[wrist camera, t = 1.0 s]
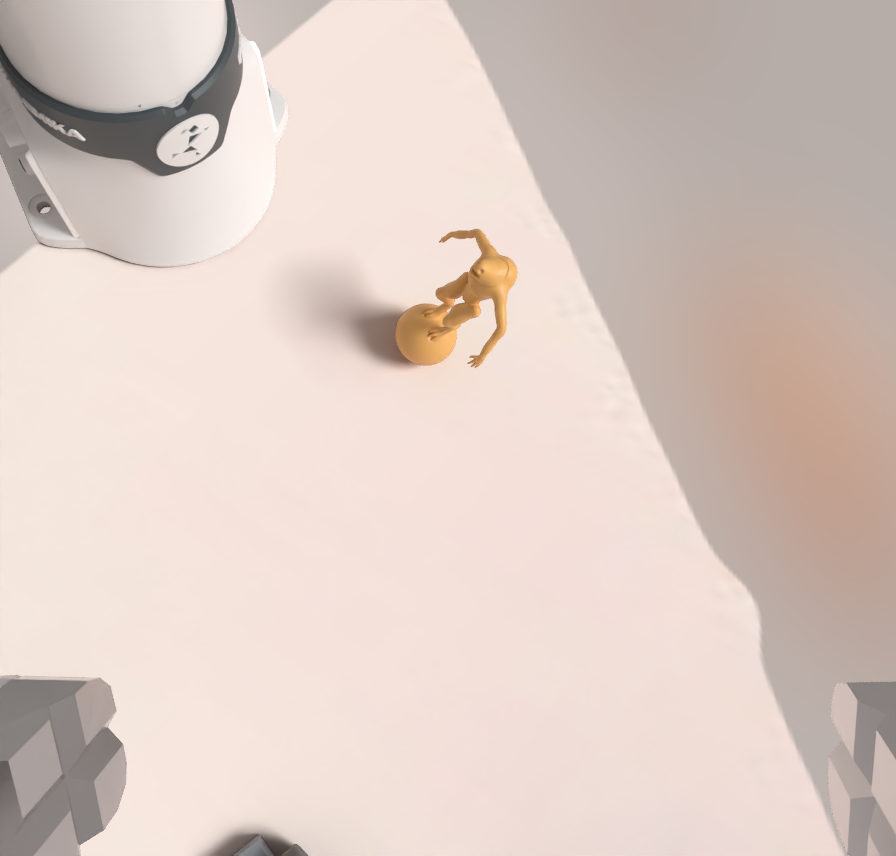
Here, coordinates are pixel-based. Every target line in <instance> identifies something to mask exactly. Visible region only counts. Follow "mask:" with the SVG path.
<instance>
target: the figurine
mask: <svg viewBox="0 0 896 856" xmlns="http://www.w3.org/2000/svg"><path fill="white" fill-rule="evenodd" d="M451 237H454V238H458V239H465V238H474V237H475V238H476V241H477V243H478V246H479V248H480V250H481V252H482V255H481V257H480V258H479V259H478V260H477V261H476V262H475V263H474V264H473V266H472V267H471V269H470V271H469V273H468V272H465V273H463V274H462V275H461V276H460V277H459V278H458V279H457V280H455V281H453V282H450V283H448V284H446V285H445V286H443V287H441V288H438V289H437V290H436V297H437V298H438V299H439V300H441V301H442V302H444V304H442V305H440V306H437V305H433V304H419V305H415V306H413V307H411V308H409V309H408V310H407V311H405V312H404V313H403V315H402V316H401V317H400V319H399V321H398V323H397V326H396V331H395V337H396V343H397V346H398V348H399V350H400V352H401V353H402V354H403V355H404V356H405V357H406V358H407V359H408V360H410V361H411V362H413V363H415V364H419V365H434V364H437V363H439V362H441V361H443V360H444V359H446V358H447V357H448V356H449V355H450V353H451V352H452V350H453V349H454V346H455V344H456V339H457V330H456V329H458V328H459V327H460V326H461V324H462V323H464V322H466V321H467V320H469V319H472V318H476V317H478V316H479V315H480V313H481V309H480V306H479V302H480V301H482V300H486V299H490V298H492V299H493V301H494V306H495V317H496V323H497V328H496V330H495V331H494V333H493V334H492V336H491V338H490V339H489V340H488V341H487V343H486V344H485V346H484V347H483V349H482V351H481V353H480V355H479V356H475V355H473V356H470V358H474V360H472V361H470V362H468V363H467V364H470V363H474V364H473V365H471V367H473V366H475V365H477V366H475V368H476V367H478V366H479V365H480V364H481V363H482V362H483V361H484V359H485V357H486V355H487V354H488V353H489V352H490V351H491V350H492V348H493V347H494V346H495V344H496V343H497V342H498V340H499V339H500V338H501V337H502V336H503V335H504V333H505V331H506V301H507V293H508V291H509V290H510V288H511V287H512V286H513V285H514V283H515V281H516V278H517V267H516V265H515V263H514V262H513V261H512V260H511V259H510V258H508V257H505V256H501V255H499V254H498V253H497V251H496V250H495V248H494V247H493V246H491V245H490V243H489V241H488V239H487V238H486V236H485V235H484V233H483V232H482V231H481V230H479V229H474V230H470V231H455V232H450V233H448V234H447V235H446V236H444V237H443V238H442V239H441V240H440V241H439V243H440V242H442V243H443V242H445V241H446V240H448V239H449V238H451ZM462 295H463V300H464V301H465V303H460V304H456V305H455V306H453V305H454V302H455V299H457V298H459V297H461V296H462ZM452 306H453V307H452ZM451 307H452V309H451V310H450V312H449V313H448V312H447V310H448V309H450V308H451Z"/></svg>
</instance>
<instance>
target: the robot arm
mask: <svg viewBox="0 0 896 856" xmlns="http://www.w3.org/2000/svg"><path fill="white" fill-rule="evenodd" d="M288 119H289V111H288V106H287V103H286V100H285V99H284V97H283V96H282V95H281V94H280V93H279V92H278V91H277V90H275V89H274V88H273V87H272V86H271V85H270V84H269V83H268V82H267V81H266V78H265V73H264V69H263V64H262V60H261V55H260V52H259V49H258V47H257V45H256V44H255V42H253V41H248V40H247V39H246V38H245V37H244V35H242V33H241V32H240V26H239V23H238V18H237V16H236V12H235V9H234V7H233V3H232V0H0V154H1V157H2V159H3V162H4V164H5V167H6V169H7V171H8V174H9V176H10V179H11V181H12V184H13V186H14V188H15V191H16V193H17V196H18V198H19V200H20V203H21V206H22V208H23V210H24V213H25V215H26V218H27V220H28V222H29V225H30V227H31V229H32V231H33V234H34V235H35V237H36V238H37V240H38V241H40V242H41V243H43V244H45V245H47V246H52V247H60V248H90V249H94V250H98V251H101V252H103V253H106V254H108V255H111V256H114V257H116V258H119V259H121V260H125V261H128V262H132V263H135V264H141V265H147V266H158V267H171V266H182V265H188V264H193V263H197V262H200V261H204V260H207V259H209V258H212V257H214V256H217V255H219V254H221V253H223V252H225V251H227V250H228V249H230V248H231V247H233V246H234V245H236V244H237V243H239V242H240V241H241V240H242V239H243V238H245V237H246V236H247V235H248V234H249V233H250V232H251V231H252V230H253V229H254V227H255V226H256V225H257V224H258V222H259V221H260V220H261V218H262V216H263V215H264V213H265V211H266V209H267V207H268V205H269V203H270V200H271V197H272V194H273V190H274V186H275V179H276V148H277V144H278V142H279V140H280V138H281V136H282V134H283V132H284V130H285V128H286V125H287V123H288ZM44 207H51V209H50V211H49V212H48V213H45V214H42V213H40V211H41V209H43V208H44ZM115 713H116V707H115V703H114V699H113V695H112V691H111V686H110V685H108V684H107V683H106V682H104V681H103V680H102V679H101V678H84V677H47V676H23V677H22V676H18V675H4V676H0V856H81V854H80V845H81V844H82V843H84V842H86V841H87V840H89V839H90V838H92V837H94V836H95V835H97V834H98V833H100V832H102V831H103V830H104V829H105V828H106V826H107V825H108V823H109V822H110V820H111V819H112V817H113V816H114V814H115V813H116V812H117V810H118V807H119V804H120V801H121V797H122V794H123V791H124V788H125V785H126V764H127V763H126V757H125V752H124V746H123V744H122V743H121V741H120V740H119V739H118V738H117V737H116V736H115V735H114V734H113V733H112V732H111V731H110V729H109V728H108V726H109V724H110V722H111V720H112V718H113V717H114V715H115ZM831 720H832V722H833V724H834V725H835V727H836V729H837V731H838V733H839V735H840V736H841V738H842V740H843V741H842V742H841V743H840V744H839V745H838V746H837V747H836V749H834V751H833V752H832V753H831V754H830V755H829V762H828V789H829V796H830V803H831V809H832V815H833V818H834V821H835V825H836V828H837V831H838V834H839V836H840V839H841V841H842V843H843V845H844V848H845V850H846V852H847V854H848V855H849V856H896V682H859V683H837V684H836V686H835V690H834V693H833V696H832V708H831Z"/></svg>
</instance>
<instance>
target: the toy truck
mask: <svg viewBox="0 0 896 856" xmlns="http://www.w3.org/2000/svg"><path fill="white" fill-rule="evenodd" d="M233 856H274V855H273V853H272V852H271V850H270V849H269V847H268V846H267V844H266V843H265V841H264V840H263V838H262V837H261V835H260V834H259V835H257V836H256V837H255V838H254V839H252V840H251V841H250V842H249V843H248V844H246V845H245V846H244V847H243V848H241V849H240V850H239V851H238V852H236V853H235V854H234V855H233ZM281 856H308V855H307V854H306V853H305V851H304V850H303V849H302V848H301V847H300V846H298V845H297V844H294V845H293V846H292V847H291V848H289V849H288V850H287V851H286V852H284V853H283V854H282V855H281Z"/></svg>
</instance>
